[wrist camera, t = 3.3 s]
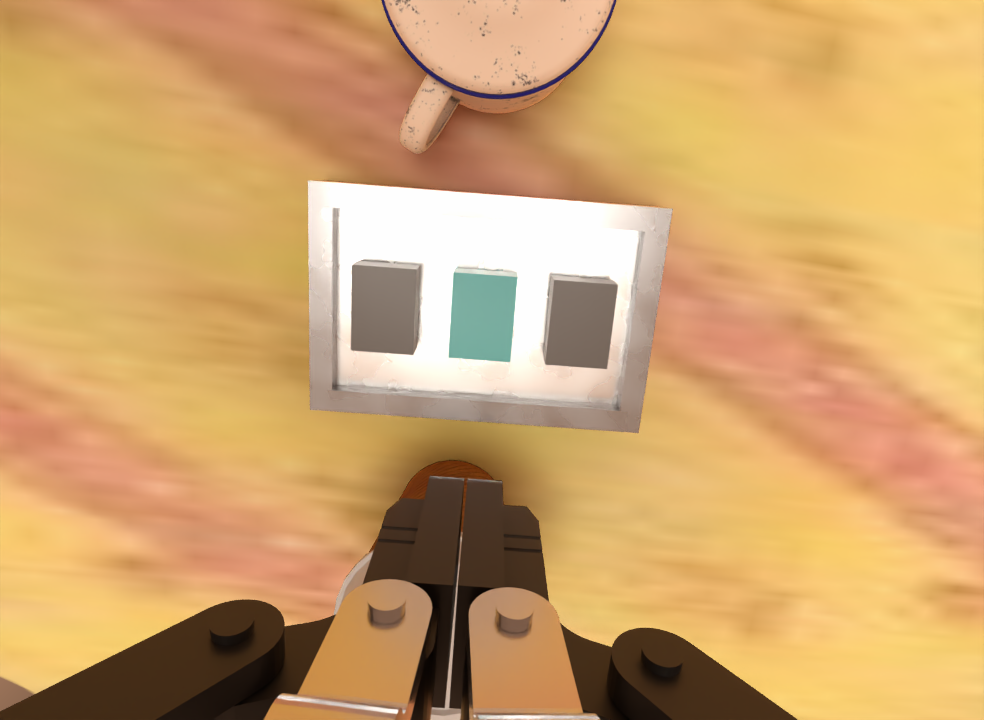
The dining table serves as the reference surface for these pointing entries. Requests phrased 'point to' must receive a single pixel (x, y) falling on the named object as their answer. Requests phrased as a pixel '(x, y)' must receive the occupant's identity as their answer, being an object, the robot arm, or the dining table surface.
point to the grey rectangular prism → (384, 307)
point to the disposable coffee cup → (416, 489)
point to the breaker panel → (439, 250)
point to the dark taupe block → (579, 321)
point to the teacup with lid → (489, 54)
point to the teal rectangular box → (482, 314)
